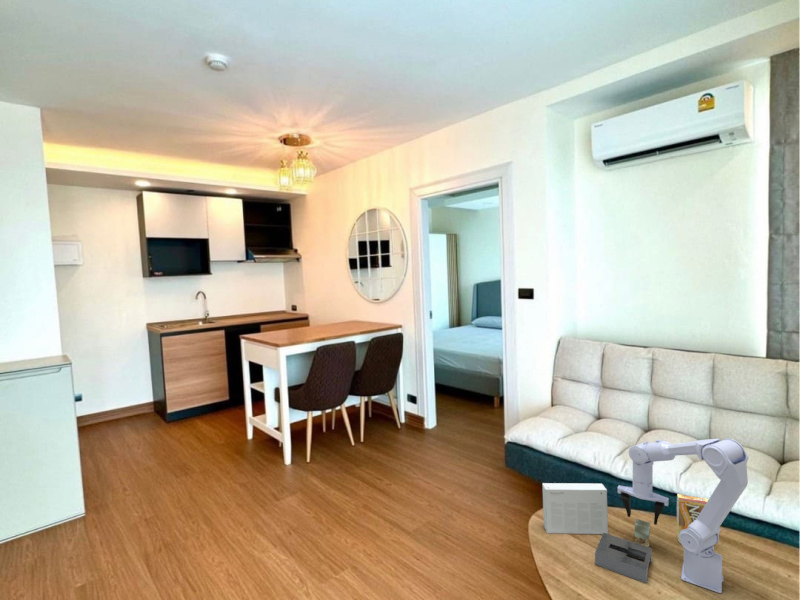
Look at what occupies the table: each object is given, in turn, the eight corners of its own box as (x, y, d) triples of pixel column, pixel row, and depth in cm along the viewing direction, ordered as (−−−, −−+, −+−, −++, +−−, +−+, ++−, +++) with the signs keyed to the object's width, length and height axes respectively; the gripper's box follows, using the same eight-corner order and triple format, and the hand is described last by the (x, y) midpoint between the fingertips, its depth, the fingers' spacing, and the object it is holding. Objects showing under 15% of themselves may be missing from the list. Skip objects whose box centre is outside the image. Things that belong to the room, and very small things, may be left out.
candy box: (707, 542, 140) (707, 497, 139) (711, 550, 136) (711, 504, 135) (676, 536, 143) (676, 493, 142) (678, 543, 139) (679, 499, 138)
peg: (650, 543, 140) (650, 522, 140) (648, 549, 137) (648, 528, 137) (636, 539, 143) (636, 518, 142) (634, 545, 139) (634, 524, 139)
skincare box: (602, 525, 151) (602, 482, 150) (608, 535, 145) (608, 490, 144) (542, 524, 153) (541, 482, 152) (546, 533, 147) (545, 489, 146)
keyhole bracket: (651, 560, 132) (651, 548, 132) (646, 583, 123) (646, 570, 122) (603, 544, 141) (603, 532, 140) (595, 564, 131) (595, 552, 131)
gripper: (669, 480, 137) (669, 520, 138) (620, 469, 146) (620, 506, 147) (667, 490, 131) (667, 531, 132) (616, 477, 140) (616, 516, 141)
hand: (642, 519), depth 139 cm, fingers open, 7 cm apart
